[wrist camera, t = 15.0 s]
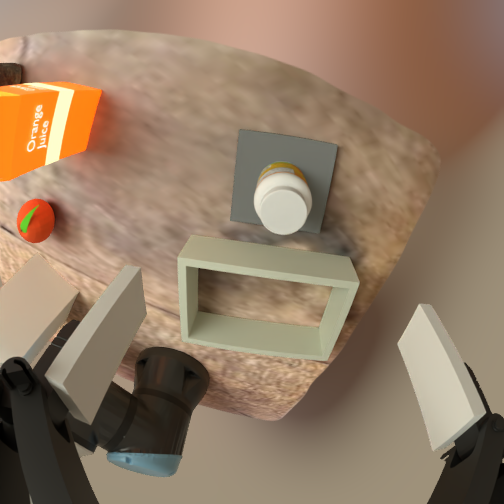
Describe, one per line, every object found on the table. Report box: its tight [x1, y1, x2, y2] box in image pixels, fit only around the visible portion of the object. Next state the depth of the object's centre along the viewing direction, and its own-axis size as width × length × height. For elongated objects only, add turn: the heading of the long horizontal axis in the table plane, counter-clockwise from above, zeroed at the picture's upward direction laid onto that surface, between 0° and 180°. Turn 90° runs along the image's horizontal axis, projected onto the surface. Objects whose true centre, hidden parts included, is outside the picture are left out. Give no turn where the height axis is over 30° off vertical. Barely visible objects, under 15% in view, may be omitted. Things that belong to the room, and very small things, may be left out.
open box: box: [178, 235, 360, 361], centre depth 37 cm, size 14×21×6 cm, turn 83°
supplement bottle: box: [254, 161, 312, 235], centre depth 27 cm, size 5×5×10 cm
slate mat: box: [230, 129, 338, 233], centre depth 32 cm, size 11×11×1 cm
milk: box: [0, 252, 79, 368], centre depth 33 cm, size 12×12×26 cm
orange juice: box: [0, 82, 102, 182], centre depth 20 cm, size 8×9×20 cm
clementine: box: [17, 199, 55, 243], centre depth 33 cm, size 8×7×7 cm
